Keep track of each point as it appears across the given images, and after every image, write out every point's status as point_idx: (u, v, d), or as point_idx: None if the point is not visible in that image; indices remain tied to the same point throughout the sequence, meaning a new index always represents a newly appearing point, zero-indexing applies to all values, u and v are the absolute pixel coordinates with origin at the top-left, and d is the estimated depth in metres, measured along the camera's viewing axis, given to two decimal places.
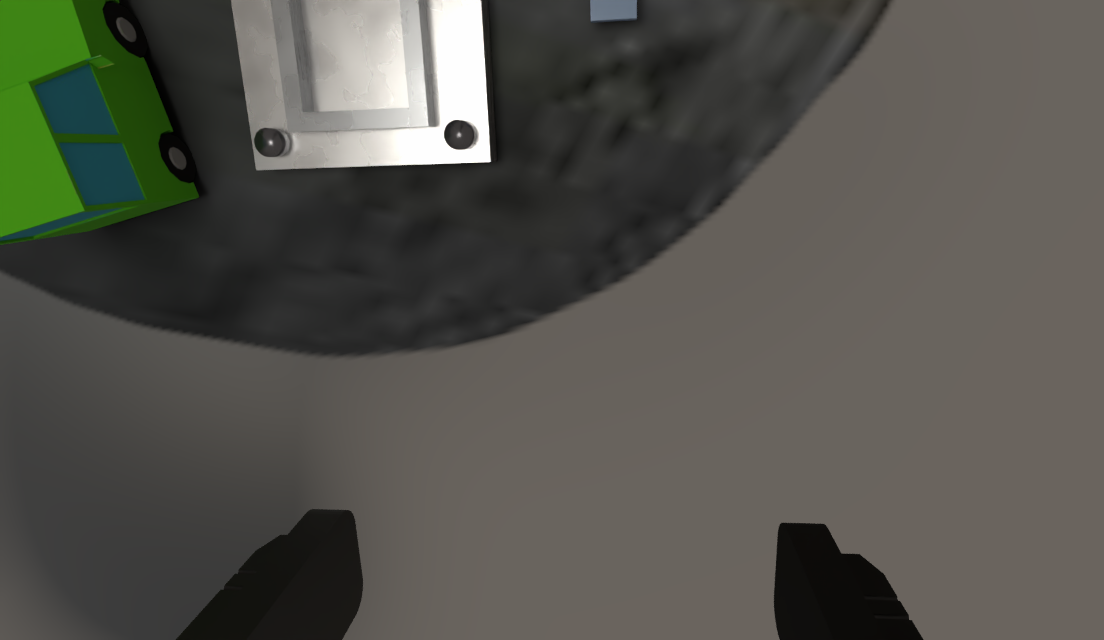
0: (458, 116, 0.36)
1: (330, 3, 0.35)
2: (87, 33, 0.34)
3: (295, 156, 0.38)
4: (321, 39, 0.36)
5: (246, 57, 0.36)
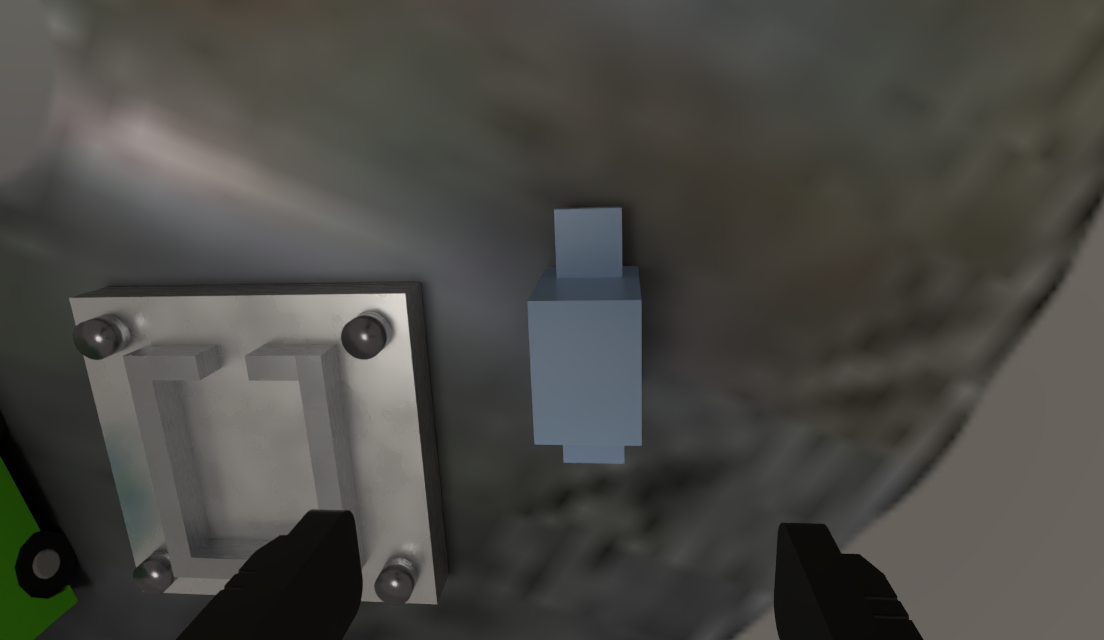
0: (394, 553, 0.28)
1: (224, 420, 0.27)
2: None
3: (190, 580, 0.29)
4: (214, 458, 0.27)
5: (121, 472, 0.28)
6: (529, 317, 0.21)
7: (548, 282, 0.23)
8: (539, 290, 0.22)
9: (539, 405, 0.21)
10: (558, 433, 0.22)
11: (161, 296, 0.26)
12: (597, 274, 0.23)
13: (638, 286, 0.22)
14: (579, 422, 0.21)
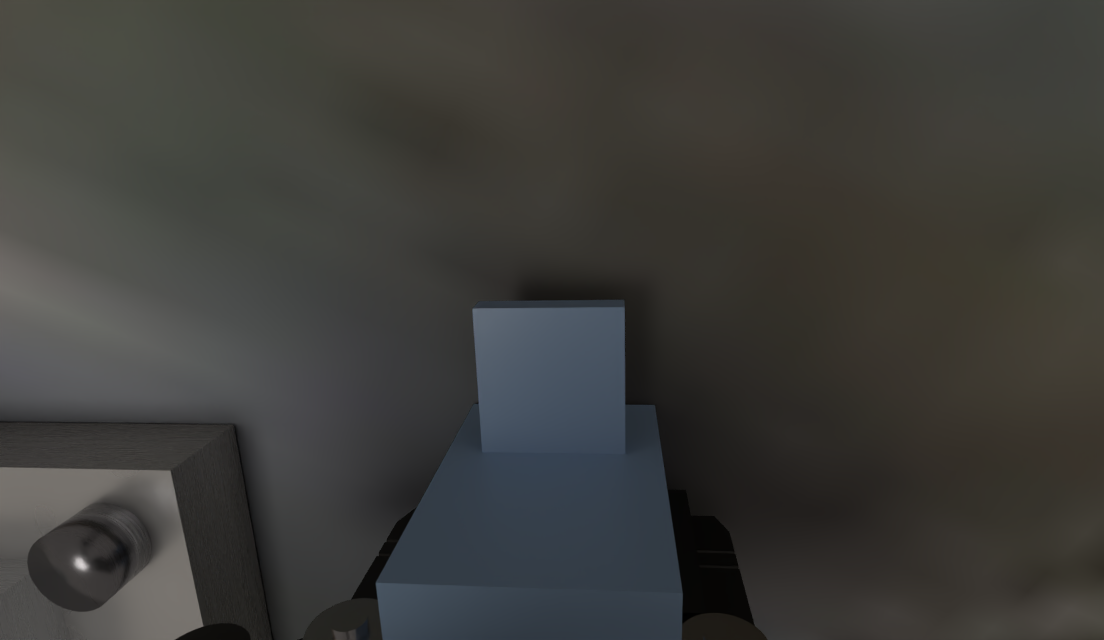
0: None
1: None
2: None
3: None
4: None
5: None
6: (384, 620, 0.08)
7: (459, 471, 0.10)
8: (427, 514, 0.09)
9: None
10: None
11: None
12: (570, 447, 0.11)
13: (665, 504, 0.09)
14: None
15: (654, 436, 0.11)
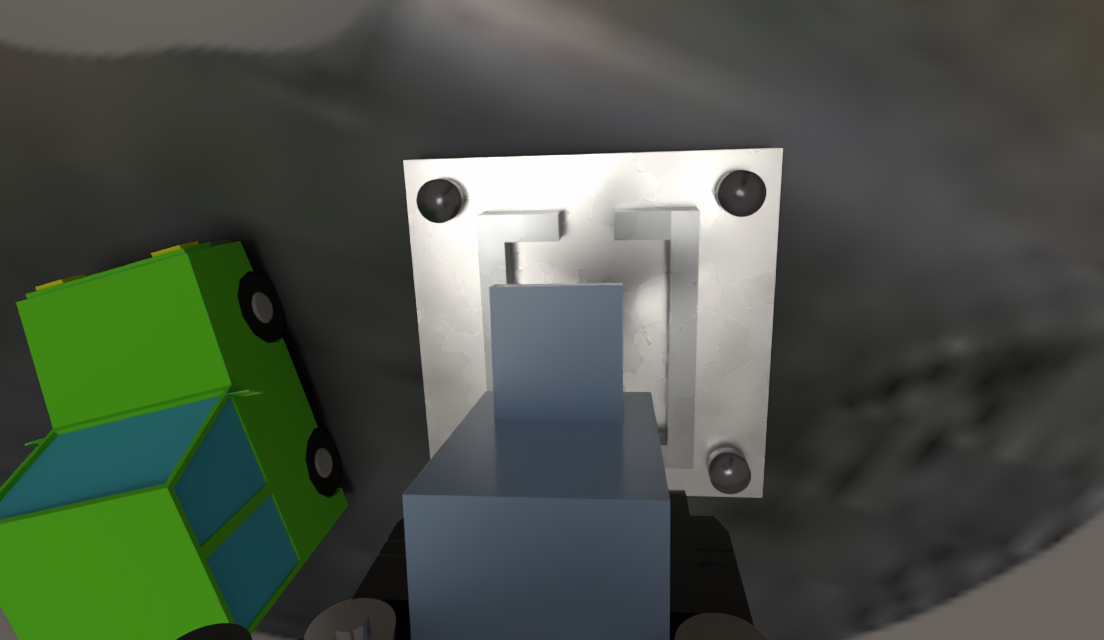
0: (723, 441, 0.26)
1: None
2: (224, 348, 0.24)
3: None
4: None
5: (430, 355, 0.27)
6: (408, 531, 0.09)
7: (474, 431, 0.11)
8: (446, 456, 0.10)
9: None
10: None
11: (506, 157, 0.24)
12: (573, 414, 0.12)
13: (657, 451, 0.10)
14: None
15: (649, 411, 0.12)
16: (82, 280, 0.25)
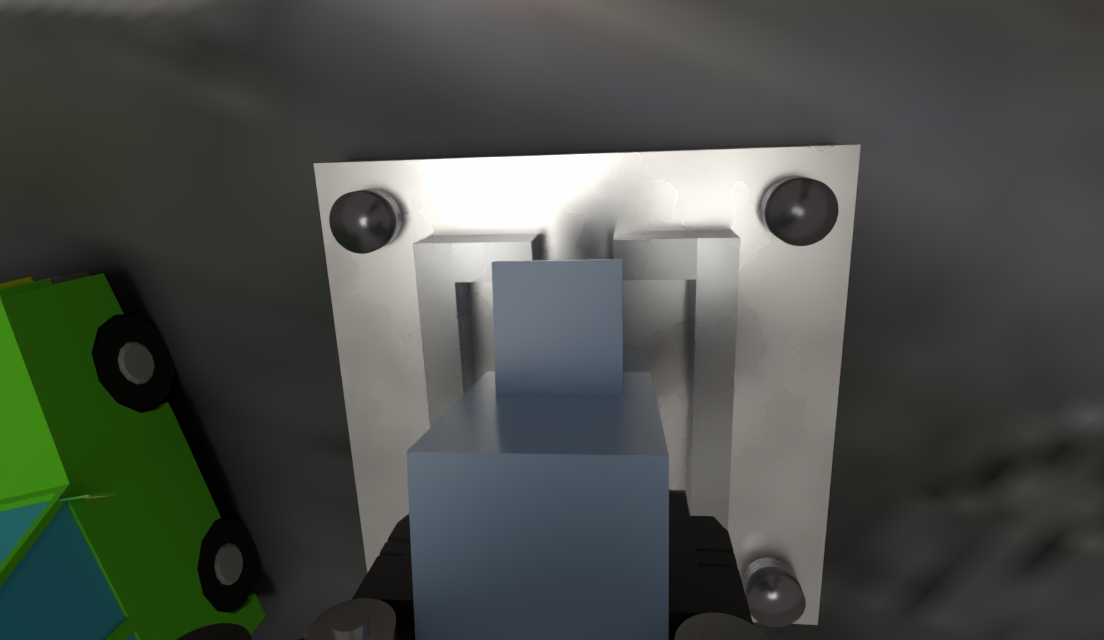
0: (765, 550, 0.19)
1: None
2: (61, 431, 0.17)
3: None
4: None
5: (361, 431, 0.19)
6: (411, 488, 0.09)
7: (476, 403, 0.12)
8: (448, 422, 0.10)
9: None
10: None
11: (459, 158, 0.17)
12: (574, 388, 0.12)
13: (657, 417, 0.10)
14: None
15: (649, 386, 0.13)
16: None
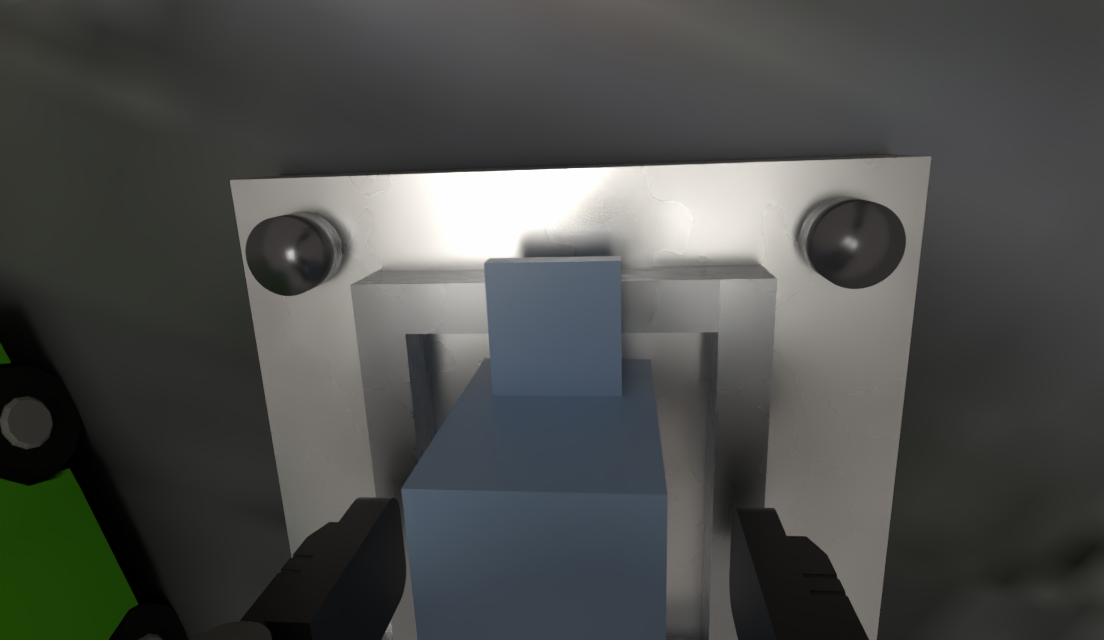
0: None
1: None
2: None
3: None
4: None
5: (299, 509, 0.16)
6: (408, 523, 0.09)
7: (472, 410, 0.11)
8: (444, 441, 0.10)
9: None
10: None
11: (413, 174, 0.13)
12: (572, 390, 0.12)
13: (656, 433, 0.10)
14: None
15: (648, 383, 0.12)
16: None
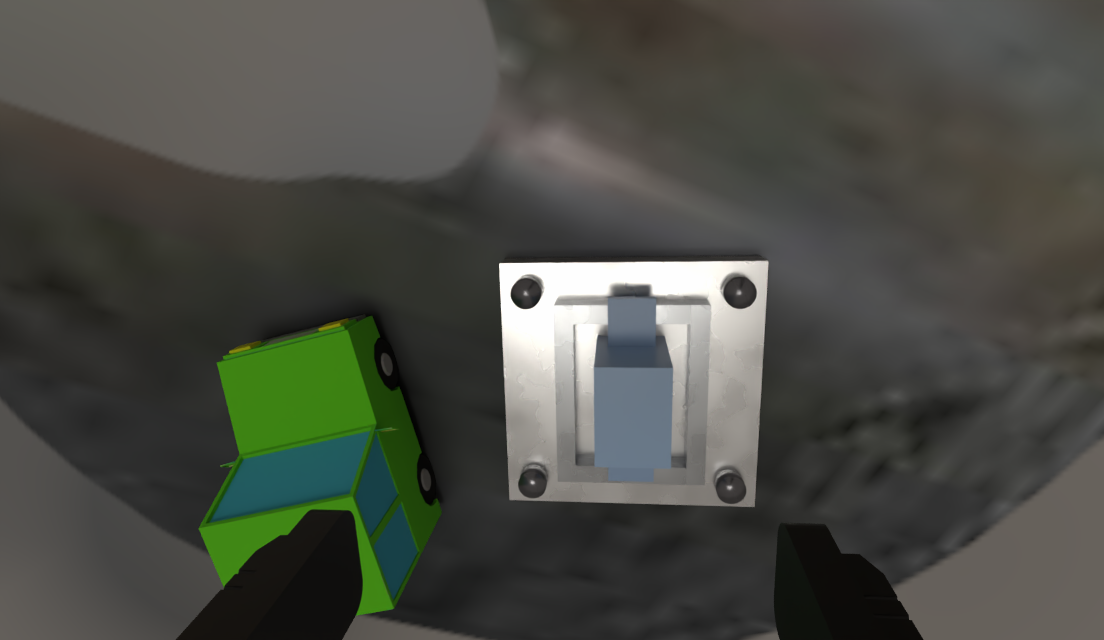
0: (726, 465, 0.36)
1: None
2: (370, 397, 0.34)
3: (552, 489, 0.37)
4: (592, 389, 0.36)
5: (512, 401, 0.36)
6: (594, 378, 0.30)
7: (603, 350, 0.32)
8: (599, 357, 0.31)
9: (599, 439, 0.31)
10: (612, 459, 0.31)
11: (573, 262, 0.34)
12: (637, 344, 0.33)
13: (668, 355, 0.31)
14: (627, 451, 0.31)
15: (664, 343, 0.33)
16: (266, 347, 0.35)
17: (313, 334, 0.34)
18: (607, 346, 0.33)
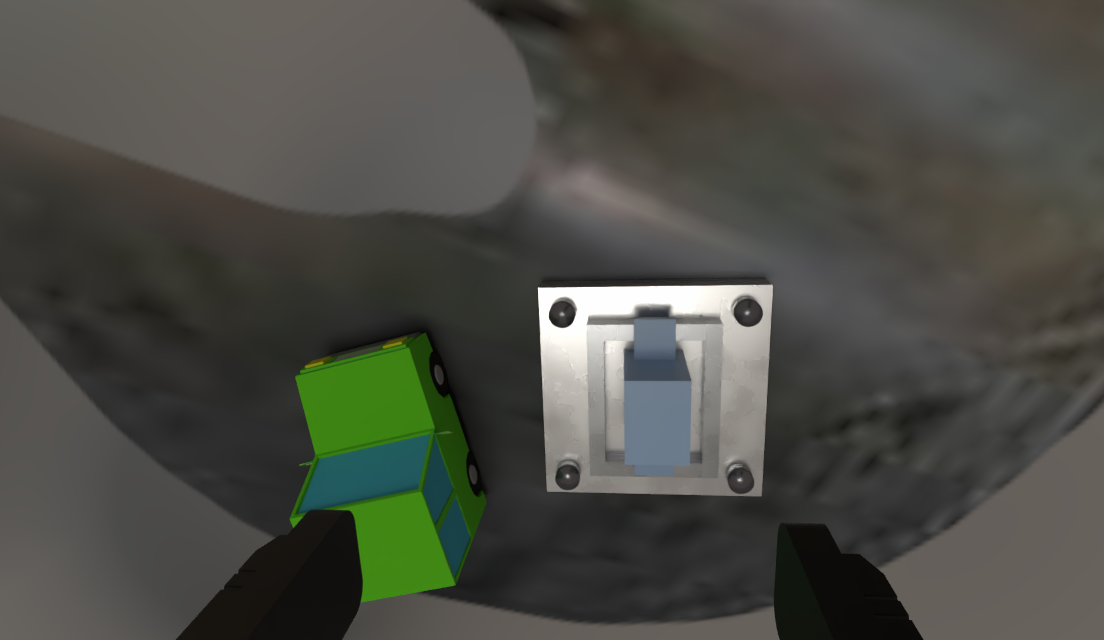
0: (736, 460, 0.41)
1: None
2: (429, 405, 0.40)
3: (584, 482, 0.43)
4: (619, 396, 0.41)
5: (549, 406, 0.42)
6: (624, 390, 0.35)
7: (630, 364, 0.38)
8: (627, 371, 0.36)
9: (628, 441, 0.36)
10: (639, 458, 0.36)
11: (603, 286, 0.39)
12: (659, 358, 0.38)
13: (687, 369, 0.36)
14: (652, 451, 0.36)
15: (683, 356, 0.38)
16: (338, 362, 0.40)
17: (378, 351, 0.40)
18: (633, 360, 0.38)
